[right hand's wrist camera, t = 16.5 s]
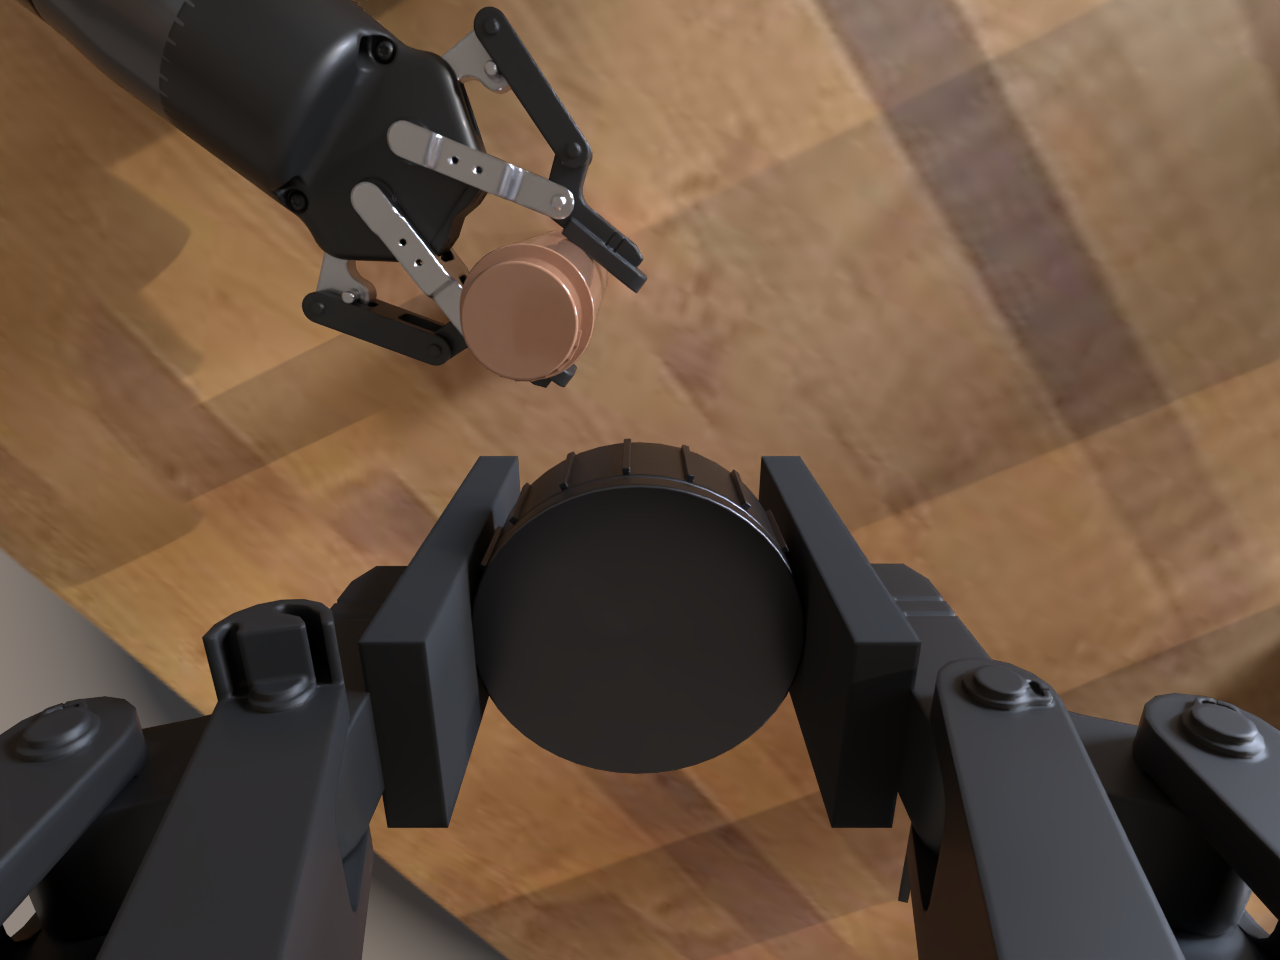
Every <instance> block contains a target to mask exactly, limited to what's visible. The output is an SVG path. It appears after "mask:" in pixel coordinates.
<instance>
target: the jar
mask: <svg viewBox="0 0 1280 960" xmlns="http://www.w3.org/2000/svg"><path fill="white" fill-rule="evenodd" d="M562 231H563V230H555V231H551V232H547V233H544V234H541V235H538V236H535V237H532V238H529V239H525V240H522V241H519V242H516V243H513V244H510V245H507V246H504V247H501V248H498V249H496V250H494V251H492V252H490V253H489V254H487V255H486V256H484V257H483V258H482V259H481V260H480V261H479V262H478V263H476V265H475V266H474V267H473V268H472V270H471V271H470V273H469V275H468V276H467V278H466V280H465V283H464V285H463V288H462V292H461V296H460V304H459V308H460V324H461V330H462V334H463V337H464V340H465V342H466V344H467V346H468V348H469V350H470V351H471V353H472V354H473V355H474V357H475V358H476V359H477V360H478V361H479V362H480V363H481V364H482V365H483V366H484V367H486V368H487V369H488V370H490V371H492V372H493V373H495V374H497V375H499V376H500V377H504V378H508V379H512V380H515V381H530V382H532V381H536V380H540V379H546V378H549V377H552V376H555V375H557V374H559V373H562V372H563V371H565V370H566V369H568V368H569V367H570V366H572V365H573V364H574V363H575V362H576V361H577V360H578V359H579V358H580V356H581V355H582V354H583V352H584V351H585V349H586V347H587V345H588V343H589V341H590V338H591V335H592V332H593V329H594V325H595V322H596V319H597V316H598V312H599V309H600V306H601V303H602V299H603V296H604V293H605V290H606V285H607V270H606V269H605V268H604V267H602V266H601V265H600V264H599V263H597V262H596V261H595V260H594V259H592V258H591V257H590V256H589V255H587V254H586V253H585V252H584V251H583V250H582V249H581V248H579V247H578V246H576V245H575V244H574V243H572V242H571V241H570V240H569V239H567V238H566V237H565V236H564V235H562V234H561V232H562Z"/></svg>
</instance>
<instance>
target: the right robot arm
mask: <svg viewBox="0 0 1280 960" xmlns="http://www.w3.org/2000/svg"><path fill="white" fill-rule="evenodd" d="M519 495H520V480H519V465H518V456H480V457H479V458H478V460H477V461H476V463H475V464H474V466H473V467H472V469H471V471H470V472H469V474H468V475H467V477H466V478H465V480H464V481H463V483H462V484H461V486H460V487H459V489H458V490H457V492H456V493H455V495H454V496H453V498H452V499H451V501H450V503H449V504H448V506H447V507H446V509H445V510H444V512H443V513H442V515H441V516H440V518H439V519H438V521H437V522H436V524H435V525H434V527H433V528H432V530H431V531H430V533H429V534H428V536H427V538H426V539H425V541H424V542H423V544H422V545H421V547H420V548H419V550H418V551H417V553H416V554H415V556H414V557H413V559H412V560H411V562H410V563H409V565H408V566H376V567H374V568H373V569H371V570H369V571H368V572H366V573H365V574H363V575H361V576H360V577H358V578H357V579H355V580H353V581H352V582H351V583H350V584H349V586H348V587H347V588H346V589H345V591H344V592H343V593H342V594H341V596H340V597H339V598H338V600H337V603H334V605H333V606H332V607H331V609H329V608H328V607H326V606H325V605H324V604H322V603H319V602H315V601H310V600H306V599H291V600H278V601H273V602H268V603H263V604H258V605H255V606H252V607H249V608H247V609H244V610H241V611H238V612H236V613H233V614H232V615H230V616H228V617H226V618H225V619H223V620H221V621H220V622H218V623H216V624H215V625H214V626H213V627H212V628H211V629H210V630H209V631H208V632H207V633H206V634H205V635H204V636H203V637H202V639H203V643H204V647H205V651H206V655H207V659H208V663H209V667H210V671H211V675H212V679H213V683H214V687H215V691H216V695H217V699H218V702H217V704H216V707H215V709H214V711H213V713H212V714H211V715H207V716H203V717H199V718H195V719H190V720H185V721H180V722H175V723H170V724H165V725H160V726H155V727H150V728H145V729H142V728H141V725H140V721H139V718H138V715H137V711H136V708H135V707H134V706H133V705H131V704H130V703H129V702H128V701H126V700H125V699H120V698H113V697H106V696H104V697H96V698H87V699H77V700H73V701H68V702H66V703H65V704H63V703H61V704H58V705H55V706H52V707H49V708H47V709H45V710H44V711H42V712H40V713H38V714H35V715H33V716H31V717H29V718H27V719H24V720H22V721H21V722H19V723H18V724H16V725H15V726H13V727H11V728H10V729H9V730H7V731H5V732H4V733H2V734H1V735H0V960H361V959H362V951H363V942H364V934H365V925H366V917H367V908H368V900H369V891H370V883H371V874H372V866H373V857H374V852H373V846H372V839H371V833H370V827H369V823H370V820H371V818H372V816H373V814H374V811H375V809H376V807H377V805H378V802H379V800H380V798H381V796H383V802H384V808H385V814H386V820H387V827H388V828H448V825H449V822H450V819H451V816H452V813H453V809H454V806H455V803H456V800H457V797H458V793H459V790H460V787H461V784H462V781H463V777H464V774H465V771H466V768H467V765H468V761H469V758H470V755H471V752H472V749H473V745H474V742H475V739H476V736H477V732H478V729H479V726H480V723H481V720H482V716H483V713H484V710H485V707H486V704H487V700H488V697H489V695H488V693H487V691H486V689H485V687H484V685H483V683H482V681H481V679H480V676H479V674H478V670H477V667H476V661H475V652H474V641H473V631H472V619H471V611H472V604H473V599H474V596H475V592H476V589H477V586H478V583H479V580H480V578H481V576H482V573H483V571H480V570H479V566H480V564H481V562H482V559H483V557H484V555H485V553H486V551H487V548H488V546H489V544H490V542H491V540H492V537H493V535H494V533H495V531H496V529H497V526H500V527H502V528H503V525H504V523H505V521H506V519H507V517H508V515H509V513H510V511H511V510H512V508H513V507H514V505H515V504H516V502H517V500H518V497H519ZM759 502H760V504H761V505H762V507H763V508H764V510H765V512H766V511H768V510H771V512H772V514H773V516H774V518H775V521H776V523H777V525H778V527H779V530H780V532H781V534H782V536H783V539H784V541H785V543H786V545H787V548H788V550H789V552H787V553H785V556H786V558H787V561H788V563H789V565H790V568H791V570H792V573H793V575H794V577H795V580H796V582H797V584H798V587H799V591H800V594H801V598H802V602H803V607H804V615H805V644H804V649H803V655H802V660H801V663H800V666H799V669H798V672H797V675H796V678H795V680H794V682H793V684H792V686H791V688H790V690H789V692H790V695H791V699H792V702H793V705H794V708H795V711H796V715H797V718H798V721H799V724H800V727H801V731H802V734H803V737H804V740H805V744H806V747H807V750H808V753H809V756H810V760H811V763H812V766H813V769H814V772H815V776H816V779H817V782H818V785H819V788H820V792H821V795H822V798H823V801H824V804H825V808H826V811H827V814H828V817H829V820H830V824H831V827H832V828H892V824H893V818H894V811H895V805H896V799H897V793H899V795H900V798H901V800H902V802H903V804H904V806H905V809H906V811H907V813H908V815H909V818H910V820H911V827H910V833H909V839H908V845H907V850H906V856H905V862H904V868H903V873H902V879H901V885H900V892H899V898H898V901H902V902H906V903H908V899H909V894H910V890H911V898H912V907H913V915H914V924H915V932H916V940H917V949H918V957H919V960H1280V731H1279V730H1277V729H1276V728H1274V727H1273V726H1271V725H1270V724H1268V723H1267V722H1265V721H1264V720H1262V719H1261V718H1259V717H1257V716H1255V715H1253V714H1251V713H1248V712H1246V711H1244V710H1242V709H1239V708H1238V707H1236V706H1235V705H1233V704H1230V703H1227V702H1224V701H1221V700H1218V701H1217V700H1214V698H1210V697H1205V696H1197V695H1188V694H1179V693H1173V694H1165V695H1158V696H1155V697H1154V698H1152V699H1151V700H1150V701H1148V702H1147V703H1146V704H1145V706H1144V709H1143V713H1142V716H1141V719H1140V723H1139V726H1136V725H1131V724H1126V723H1121V722H1116V721H1111V720H1106V719H1101V718H1096V717H1091V716H1086V715H1081V714H1078V713H1074V712H1070V711H1067V709H1066V707H1065V705H1064V703H1063V701H1062V699H1061V698H1060V697H1059V696H1058V694H1057V693H1056V692H1055V691H1054V689H1053V688H1052V687H1051V686H1050V685H1049V684H1047V683H1046V682H1044V681H1043V680H1042V679H1040V678H1039V677H1037V676H1036V675H1034V674H1033V673H1031V672H1029V671H1026V670H1024V669H1021V668H1019V667H1017V666H1014V665H1012V664H1010V663H1005V662H1001V661H996V660H992V659H991V658H990V657H989V656H988V654H987V653H986V652H985V650H984V649H983V648H982V647H981V645H980V644H979V643H978V642H977V640H976V639H975V638H974V637H973V635H972V634H971V633H970V631H969V630H968V629H967V628H966V626H965V625H964V624H963V623H962V621H961V620H960V619H959V617H958V616H955V615H954V611H953V610H952V609H951V607H950V606H949V605H948V604H947V602H946V601H943V597H942V596H941V595H940V593H939V592H938V591H937V590H936V588H935V587H934V586H933V584H932V583H931V582H930V581H929V579H927V578H926V577H924V576H922V575H921V574H919V573H917V572H916V571H914V570H913V569H911V568H909V567H908V566H906V565H904V564H870V563H869V561H868V560H867V558H866V557H865V555H864V553H863V552H862V550H861V549H860V547H859V546H858V544H857V543H856V541H855V540H854V538H853V537H852V535H851V534H850V532H849V531H848V529H847V528H846V526H845V525H844V523H843V522H842V520H841V518H840V517H839V515H838V514H837V512H836V511H835V509H834V508H833V506H832V505H831V503H830V502H829V500H828V499H827V497H826V496H825V494H824V493H823V491H822V490H821V488H820V486H819V485H818V483H817V482H816V480H815V479H814V477H813V476H812V474H811V473H810V471H809V470H808V468H807V467H806V465H805V464H804V462H803V461H802V459H801V458H800V456H762V457H761V473H760V489H759ZM1252 891H1253V892H1254V893H1255V894H1256V896H1257V897H1258V898H1259V899H1260V900H1261V901H1262V902H1263V903H1264V904H1265V906H1266V907H1267V908H1268V909H1269V910H1270V911H1271V912H1272V913H1273V915H1274V916H1275V917H1276V918H1277V919H1278V923H1277V925H1276V927H1275V930H1274V931H1273V933H1272V934H1271V935H1270V934H1268V933H1267V932H1266V931H1265V930H1264V929H1263V928H1262V927H1260V926H1259V925H1258V924H1257V923H1256V922H1255V920H1254V919H1253V918H1252V917H1251V916H1250V915H1249V913H1248V912H1247V911H1246V910H1245V907H1246V904H1247V902H1248V899H1249V897H1250V895H1251V892H1252ZM28 895H29V896H30V899H31V901H32V904H33V906H34V908H35V911H36V913H35V914H34V915H33V916H32V917H31V918H30V920H29V921H28V922H27V923H26V924H25V925H24V927H22V928H21V929H20V930H19V931H18V932H16V933H15V934H14V935H13V936H12V937H9V936H8V935H7V933H6V931H5V929H4V927H3V923H4V922H5V921H6V919H7V918H8V917H9V916H10V915H11V914H12V913H13V912H14V910H15V909H16V908H17V907H18V906H19V905H20V904H21V903H22V901H23V900H24V899H25V898H26V897H27V896H28Z"/></svg>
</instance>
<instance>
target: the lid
mask: <svg viewBox="0 0 1280 960" xmlns="http://www.w3.org/2000/svg"><path fill="white" fill-rule="evenodd" d="M787 552H789V550H788V548H787V545H786V543H785V541H784V539H783V536H782V534H781V532H780V530H779V527H778V525H777V523H776V521H775V518H774V516H773V514H772V512H771V510H768V511H766V512H765V510H764V508H763V507H762V505H761V504H760V502H759V501H758V499H757V498H756V497H755V496H754V495H753V493H752V492H751V491H750V490H749V489H748V488H747V486H746V485H744V484H743V483H742V481H741V478H740V476H739V473H738V472H736V471H735V470H733V471H732V472H731V473H730V472H729V471H727V470H726V469H724V468H723V467H721V466H720V465H718V464H717V463H715V462H713V461H711V460H709V459H707V458H705V457H703V456H701V455H699V454H696V453H693V452H690V450H689V446H686V445H682V447H681V448H678V447H673V446H668V445H663V444H655V443H641V442H637V443H631V439H624V443H619V444H613V445H608V446H602V447H598V448H595V449H592V450H588V451H585V452H582V453H579V454H577V455H575V453H574V452H571V453H569V454H568V455H567V459H566V460H564V461H562V462H561V463H559V464H558V465H556V466H554V467H553V468H551V469H550V470H548V471H547V472H545V473H544V474H543V475H542V476H541V477H539V478H538V479H537V480H536V481H535V482H534V483H532V484H531V485H530V484H528V483H526V484H525V485H524V486H523V488H522V490H521V493H520V495H519V497H518V500H517V502H516V504H515V505H514V507H513V508H512V510H511V511H510V513H509V515H508V517H507V519H506V521H505V523H504V525H503V528H502V527H500V526H497V529H496V531H495V533H494V535H493V537H492V540H491V542H490V544H489V546H488V548H487V551H486V553H485V555H484V557H483V559H482V562H481V564H480V566H479V570H480V571H483V573H482V576H481V578H480V580H479V583H478V586H477V589H476V592H475V596H474V599H473V604H472V611H471V619H472V631H473V641H474V652H475V661H476V667H477V670H478V674H479V676H480V679H481V681H482V683H483V685H484V687H485V689H486V691H487V693H488V695H489V696H490V698H491V699H492V701H493V702H494V704H495V705H496V707H497V708H498V709H499V711H500V712H501V713H502V714H503V715H504V716H505V717H506V719H507V720H508V721H509V722H510V723H511V724H512V725H513V726H514V727H515V728H517V729H518V730H519V731H520V732H521V733H522V734H523V735H524V736H526V737H527V738H529V739H530V740H532V741H533V742H534V743H536V744H537V745H539V746H540V747H542V748H544V749H546V750H547V751H549V752H551V753H553V754H555V755H557V756H559V757H561V758H564V759H566V760H569V761H571V762H574V763H576V764H580V765H583V766H587V767H591V768H594V769H599V770H605V771H611V772H618V773H635V774H638V773H658V772H664V771H671V770H677V769H681V768H685V767H689V766H693V765H696V764H699V763H702V762H704V761H707V760H710V759H712V758H715V757H717V756H719V755H721V754H723V753H725V752H726V751H728V750H730V749H732V748H734V747H735V746H737V745H738V744H740V743H741V742H743V741H744V740H746V739H747V738H749V737H750V736H751V735H752V734H753V733H754V732H756V731H757V730H758V729H759V728H760V727H762V726H763V725H764V724H765V722H766V721H767V720H768V719H769V718H770V717H771V716H772V715H773V714H774V713H775V711H776V710H777V709H778V707H779V706H780V704H781V703H782V702H783V700H784V699H785V697H786V696H787V694H788V692H789V690H790V688H791V686H792V684H793V682H794V680H795V678H796V675H797V672H798V669H799V666H800V663H801V660H802V655H803V649H804V644H805V615H804V607H803V602H802V598H801V594H800V591H799V587H798V584H797V582H796V580H795V577H794V575H793V573H792V570H791V568H790V565H789V563H788V561H787V558H786V556H785V553H787Z"/></svg>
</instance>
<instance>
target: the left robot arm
mask: <svg viewBox="0 0 1280 960" xmlns="http://www.w3.org/2000/svg"><path fill="white" fill-rule="evenodd" d="M16 1H17V2H18V3H20V4H21V5H23V6H24V7H25V8H27V9H28V10H29V11H31V12H32V13H33V14H35V15H36V16H37V17H39V18H40V19H42V20H43V21H44V22H46V23H47V24H48V25H50V26H51V27H52V28H53V29H55V30H56V31H57V32H58V33H60V34H61V35H62V36H63V37H65V38H66V39H67V40H68V41H69V42H70V43H71V44H72V45H73V46H75V47H76V48H77V49H78V50H79V51H80V52H81V53H82V54H83V55H84V56H85V57H86V58H87V59H88V60H89V61H90V62H91V63H93V64H94V65H95V66H96V67H97V68H98V69H99V70H101V71H102V72H103V73H104V74H105V75H106V76H108V77H109V78H110V79H112V80H113V81H114V82H115V83H117V84H118V85H119V86H121V87H122V88H123V89H125V90H126V91H127V92H129V93H130V94H131V95H133V96H134V97H135V98H137V99H138V100H140V101H141V102H142V103H144V104H145V105H146V106H148V107H149V108H150V109H152V110H153V111H154V112H156V113H157V114H158V115H160V116H161V117H163V118H164V119H165V120H167V121H168V122H170V123H171V124H172V125H174V126H175V127H176V128H178V129H179V130H180V131H182V132H183V133H184V134H186V135H187V136H189V137H190V138H191V139H193V140H194V141H195V142H197V143H198V144H199V145H201V146H202V147H204V148H205V149H206V150H208V151H209V152H210V153H212V154H213V155H214V156H216V157H217V158H219V159H220V160H221V161H223V162H224V163H225V164H227V165H228V166H229V167H231V168H232V169H234V170H235V171H236V172H238V173H239V174H240V175H242V176H243V177H244V178H246V179H247V180H249V181H250V182H251V183H253V184H254V185H255V186H257V187H258V188H259V189H261V190H262V191H264V192H265V193H266V194H268V195H269V196H270V197H272V198H273V199H274V200H276V201H277V202H278V203H280V204H281V205H283V206H284V207H285V208H287V209H288V210H290V211H291V212H293V213H294V214H295V215H297V216H298V217H299V218H300V219H301V220H302V221H303V222H304V223H305V225H306V226H307V227H308V229H309V230H310V232H311V234H312V235H313V237H314V239H315V241H316V243H317V244H318V245H319V247H320V248H321V249H322V250H323V251H324V252H325V253H324V258H323V263H322V267H321V272H320V276H319V281H318V286H317V290H316V292H313V293H310V294H308V295H306V296H305V298H304V299H303V302H302V309H303V312H304V314H305V316H306V317H307V318H308V319H309V320H311V321H312V322H315V323H318V324H320V325H323V326H326V327H329V328H331V329H334V330H337V331H340V332H342V333H345V334H348V335H351V336H353V337H356V338H359V339H362V340H364V341H367V342H370V343H373V344H376V345H378V346H381V347H384V348H387V349H389V350H392V351H395V352H398V353H400V354H403V355H406V356H409V357H411V358H414V359H417V360H420V361H422V362H425V363H428V364H431V365H436V366H437V365H442V364H444V363H445V362H446V361H447V360H449V359H450V358H452V357H453V356H455V355H456V354H458V353H460V352H461V351H463V350H464V349H466V348H468V346H467V344H466V342H465V340H464V337H463V334H462V330H461V324H460V308H459V304H460V296H461V292H462V288H463V285H464V283H465V280H466V278H467V276H468V275H469V271H468V269H467V267H466V266H465V264H464V263H463V262H462V260H461V259H460V258H459V256H458V255H457V254H456V252H455V251H454V250H453V249H452V246H453V245H454V243H455V242H456V240H457V239H458V237H459V235H460V231H461V228H462V225H463V222H464V219H465V217H466V216H467V215H468V214H469V213H470V212H472V211H473V210H474V209H475V208H476V207H477V206H479V205H480V204H481V202H482V201H483V199H484V198H485V196H486V195H487V193H491V194H493V195H496V196H498V197H501V198H503V199H506V200H509V201H512V202H515V203H517V204H519V205H522V206H524V207H527V208H529V209H532V210H534V211H537V212H539V213H541V214H544V215H546V216H549V217H550V218H551V219H553V220H554V221H555V222H556V223H558V224H559V225H560V226H561V227H563V228H564V230H563V231H562V232H561V234H562V235H564V236H565V237H566V238H567V239H569V240H570V241H571V242H572V243H574V244H575V245H576V246H578V247H579V248H581V249H582V250H583V251H584V252H585V253H586V254H587V255H589V256H590V257H591V258H592V259H594V260H595V261H596V262H597V263H599V264H600V265H601V266H602V267H604V268H605V269H606V270H607V271H609V272H610V273H611V274H612V275H613V276H615V277H616V278H617V279H618V280H620V281H621V282H622V283H623V284H625V285H626V286H627V287H628V288H630V289H631V290H632V291H634V292H636V293H637V292H638V291H639V289H640V288H641V287H642V286H643V284H644V283H645V282H646V280H647V276H646V275H645V274H644V273H643V272H642V271H641V270H639V269H638V268H637V267H638V266H639V264H640V263H641V262H642V260H643V256H642V255H641V253H640V251H639V249H638V247H637V246H636V244H634V243H633V242H632V241H631V240H629V239H628V238H627V237H626V236H625V235H623V234H622V233H621V232H620V231H619V230H617V229H616V228H615V227H614V226H612V225H611V224H610V223H609V222H608V221H606V220H605V219H604V218H603V217H601V216H600V215H599V214H598V213H597V212H595V211H594V210H593V209H592V208H591V207H590V206H588V204H587V203H586V201H585V199H584V196H583V184H584V180H585V177H586V173H587V170H588V166H589V165H590V163H591V161H592V150H591V147H590V145H589V144H588V142H587V141H586V139H585V138H584V136H583V135H582V133H581V132H580V130H579V129H578V127H577V125H576V124H575V122H574V121H573V119H572V118H571V116H570V115H569V113H568V112H567V110H566V109H565V107H564V106H563V104H562V102H561V101H560V99H559V98H558V96H557V95H556V93H555V92H554V90H553V89H552V87H551V86H550V84H549V83H548V81H547V79H546V78H545V76H544V75H543V73H542V72H541V70H540V69H539V67H538V66H537V64H536V63H535V61H534V60H533V58H532V57H531V55H530V53H529V52H528V50H527V49H526V47H525V46H524V44H523V43H522V41H521V40H520V38H519V37H518V35H517V34H516V32H515V30H514V29H513V27H512V26H511V24H510V23H509V21H508V20H507V18H506V17H505V15H504V14H503V13H502V12H501V11H500V10H499V9H497V8H494V7H485V8H483V9H481V10H480V11H479V12H478V13H477V15H476V16H475V19H474V30H473V31H471V32H470V33H469V34H468V35H467V36H466V37H464V38H463V39H462V40H461V41H460V42H458V43H457V44H456V45H455V46H454V47H453V48H451V49H450V50H449V51H448V52H447V53H446V54H444V55H443V56H442V57H440V56H439V55H437V54H435V53H432V52H428V51H422V50H417V49H414V48H411V47H409V46H407V45H405V44H404V43H402V42H401V41H400V40H399V39H397V38H396V37H395V36H394V35H393V34H391V33H390V32H389V31H388V30H387V29H385V28H384V27H383V26H382V25H381V24H379V23H378V22H377V21H376V20H375V19H373V18H372V17H371V16H370V15H368V14H367V13H366V12H365V11H364V10H362V9H361V8H360V7H359V6H358V5H356V4H355V3H354V2H353V1H352V0H16ZM470 80H477V81H480V82H482V84H483V85H484V86H485V87H487V88H488V89H489V90H490V91H492V92H494V93H496V94H503V93H506V92H508V91H509V90H510V89H512V90H513V92H514V93H515V95H516V96H517V98H518V99H519V101H520V102H521V104H522V105H523V107H524V108H525V110H526V111H527V113H528V114H529V116H530V117H531V119H532V120H533V122H534V123H535V125H536V126H537V128H538V129H539V131H540V132H541V133H542V135H543V136H544V138H545V139H546V141H547V142H548V144H549V145H550V147H551V148H552V150H553V151H554V153H555V157H554V161H553V165H552V169H551V173H550V177H549V179H546V178H544V177H541V176H539V175H537V174H534V173H532V172H529V171H527V170H525V169H523V168H520V167H518V166H515V165H513V164H511V163H508V162H506V161H503V160H501V159H499V158H496V157H494V156H491V155H489V154H487V153H486V150H485V147H484V144H483V141H482V138H481V135H480V132H479V129H478V126H477V123H476V120H475V117H474V114H473V111H472V108H471V105H470V102H469V99H468V96H467V93H466V90H465V87H464V83H465V82H467V81H470ZM439 256H441V259H440V258H439ZM355 260H361V261H386V262H400V264H401V265H402V266H403V267H404V269H405V270H406V271H407V272H408V274H409V275H410V276H411V278H412V279H413V280H414V281H415V283H416V284H417V285H418V286H419V288H420V289H421V290H422V291H423V292H424V293H425V294H426V295H427V296H428V297H430V298H432V299H433V300H434V301H435V302H436V303H437V304H438V306H439V307H440V308H441V309H442V311H443V312H444V313H445V314H446V316H447V317H448V318H449V320H450V321H451V322H449V323H448V324H446V325H445V324H442V323H440V322H437V321H434V320H432V319H429V318H426V317H424V316H421V315H418V314H415V313H413V312H410V311H407V310H405V309H402V308H399V307H397V306H394V305H391V304H389V303H386V302H383V301H380V300H378V299H376V297H377V293H376V289H375V287H374V285H373V284H372V283H371V282H370V281H368V280H366V279H365V278H363V277H362V276H361V275H360V274H359V273H358V271H357V269H356V265H355ZM420 262H422V265H421V264H420ZM576 368H577V367H576V366H575V364H573V365H572V366H570V367H569V368H568V369H566V370H565V371H563V372H562V373H559V374H557V375H555V376H552V377H549V378H546V379H540V380H536V381H532V382H531V383H532V384H534V385H538V386H541V387H545V388H546V387H547V386H548V385H549V383H550V382H551V381H553V382H554V383H556V384H557V385H559V386H561V387H565V386H566V385H567V383H568V382H569V381H570V379H571V378H572V377H573V376H574V374H575V371H576Z"/></svg>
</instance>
